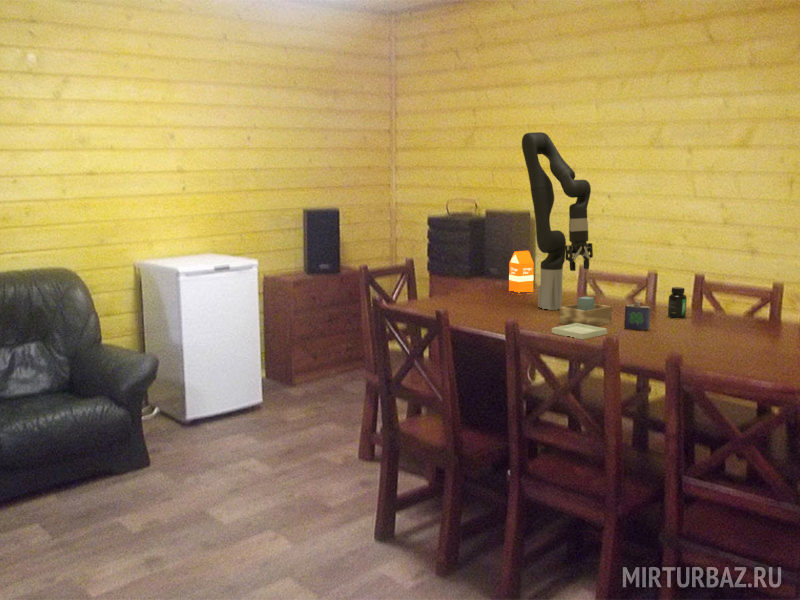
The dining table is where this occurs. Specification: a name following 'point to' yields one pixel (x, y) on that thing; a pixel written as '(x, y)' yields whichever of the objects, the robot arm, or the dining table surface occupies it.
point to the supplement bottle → (677, 303)
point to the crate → (586, 315)
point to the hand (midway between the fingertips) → (579, 269)
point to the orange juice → (521, 272)
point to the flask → (637, 317)
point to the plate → (579, 331)
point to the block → (585, 303)
